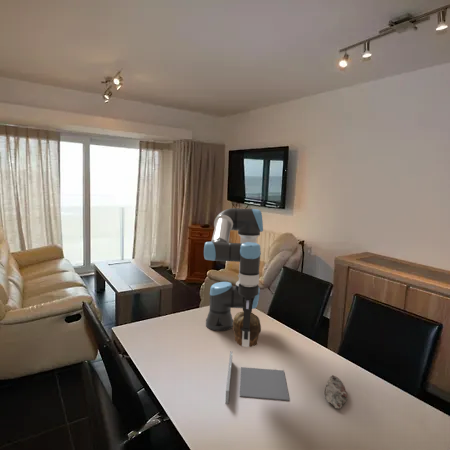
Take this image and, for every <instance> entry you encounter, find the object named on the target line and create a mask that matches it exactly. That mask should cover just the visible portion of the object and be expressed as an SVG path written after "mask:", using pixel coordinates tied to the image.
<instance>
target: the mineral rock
mask: <svg viewBox="0 0 450 450" xmlns="http://www.w3.org/2000/svg"><path fill="white" fill-rule="evenodd" d="M324 396H325V400H326V402H328V403H330V404H331V405H332V406H333V407H334V408H335V409H341V408H342V407H343V405H345V403H346V402H347V400H348V392H347V390H346V387H345V384H344V382H343V381H342V380H341V379H340V378H339V377H338V376H337V375H331V376H330V377H329V380H328V381H327V383H326V385H325V388H324Z"/></svg>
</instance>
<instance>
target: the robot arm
mask: <svg viewBox="0 0 450 450" xmlns="http://www.w3.org/2000/svg"><path fill="white" fill-rule="evenodd" d="M263 221H264V220H263V215H262V211H261V210H260V209H258V208H239V207H237V208H236V207H231V208H226V209H225V210H222V211H220V212H219V213H218V214H217V216H216V217H215V218H214V221H213V227H214V230H213V233H212V237H211V241H206V242H204V247H203V257H204V260H206V261H212V262H214V261H216V262H218V261H219V262H234V263H236V262H237V263H239V267H238V268H239V269H238V274H237V277H238V280H237V281H235V286H234V285H232V282H230V281H229V282H228V281H220V282H219V281H218V282H215V283H213V284H212V285H211V286H210V289H209V290H210V291H209V309H208V314H207V317H206V318H205V326H206V327H207V328H208V329H210V330H212V331H217V332H219V331H220V332H221V331H222V332H224V331H228V330H231V329H233V320H234V318H233V315H232V312H231V311H232V310H231V309H242V312H243V311H244V318H243V329H242V328H241V330H242V346H241V347H242V348H250V347H249V340H250V313H251V312H252V313H253V310H254V309H257V307H258V304H259V300H260V292H261V289H260V287H259V284H260V266H261V264H260V263H261V254H262V253H261V252H262V251H261V245H260V244H259V243H257V242H258V241H257V239H258V237H260V235H261V232H263V231H264V222H263ZM231 231H237V235H238V236H239V237H240V242H230V236H231Z"/></svg>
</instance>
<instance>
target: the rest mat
mask: <svg viewBox="0 0 450 450" xmlns="http://www.w3.org/2000/svg"><path fill="white" fill-rule="evenodd" d="M239 397H240V398H250V399H251V398H252V399H253V398H254V399H260V400H261V399H264V400H265V399H266V400H276V401H290V397H289V391H288V385H287V380H286V374H285V370H284V369H283V370H281V369H271V368H270V369H269V368H258V367H257V368H255V367H247V366H240V381H239Z"/></svg>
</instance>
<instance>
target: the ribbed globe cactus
mask: <svg viewBox="0 0 450 450" xmlns="http://www.w3.org/2000/svg"><path fill="white" fill-rule="evenodd" d="M243 318H244V311H243V310H242V311H239V312H236V314H235V315H234V317H233V327H232V331H233V335H234V340H235V343H237V345H239V346H241V347H242V330H241V328H242V329H243ZM261 332H262V326H261V320H260V318H259V316H257V315H256V314H255V313H254V312H253V311H252V312H251V313H250V340H249V347H248V348H252V347H256V346H257V345H258V341H259V336H260V333H261Z"/></svg>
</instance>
